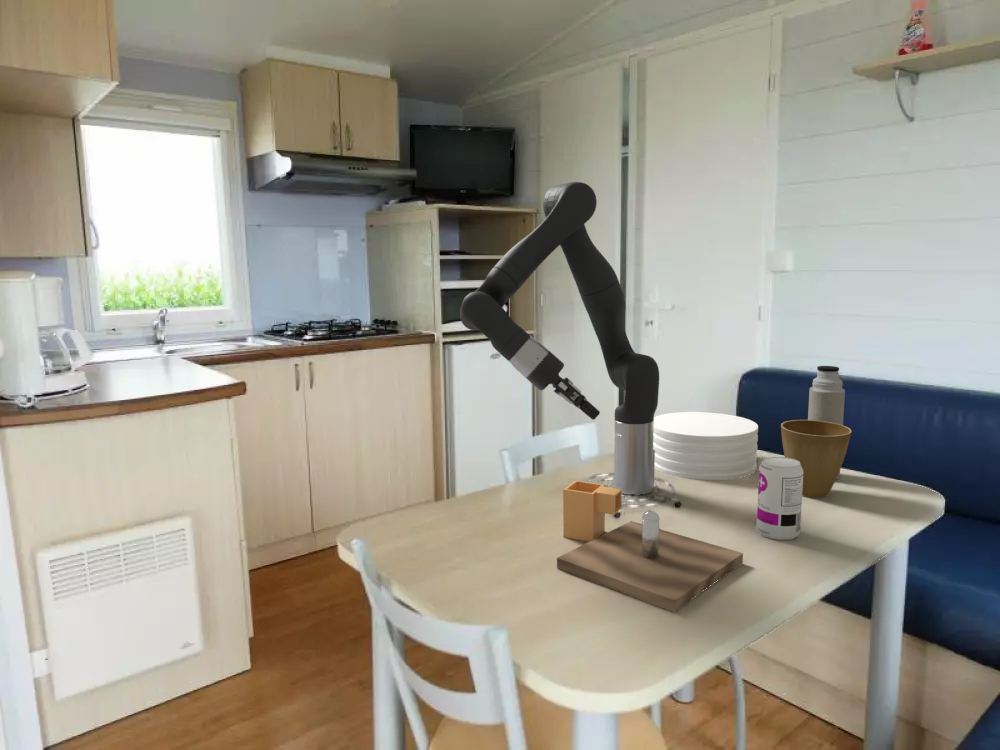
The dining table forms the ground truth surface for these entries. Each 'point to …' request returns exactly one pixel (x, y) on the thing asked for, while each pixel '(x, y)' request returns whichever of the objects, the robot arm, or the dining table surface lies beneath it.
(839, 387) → the thermos bottle
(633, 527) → the mount board
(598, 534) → the open-top tan box
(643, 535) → the grey upright cylinder piece
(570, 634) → the dining table surface
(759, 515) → the supplement can
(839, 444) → the plant pot
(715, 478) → the plate stack
